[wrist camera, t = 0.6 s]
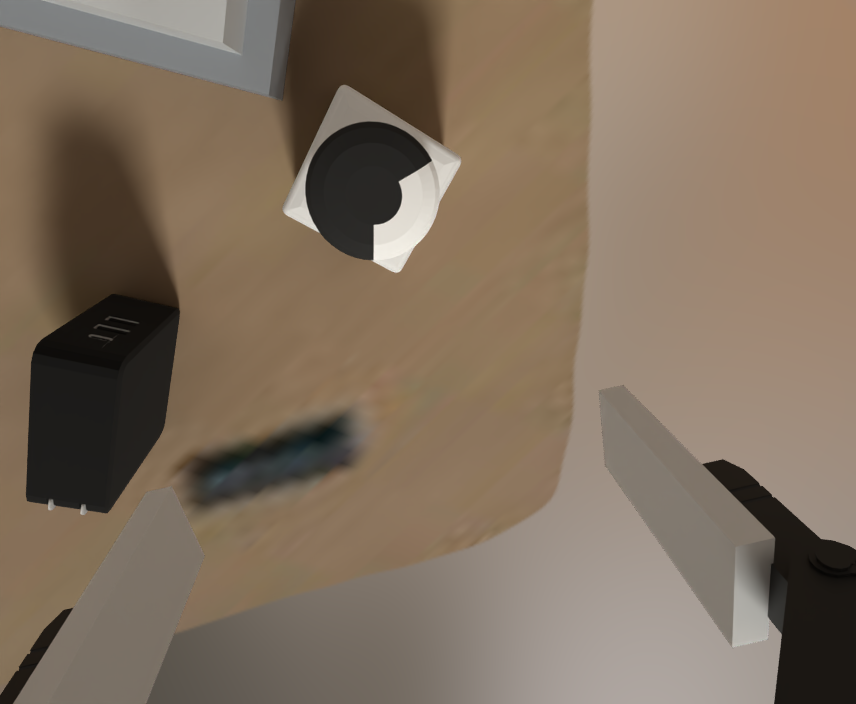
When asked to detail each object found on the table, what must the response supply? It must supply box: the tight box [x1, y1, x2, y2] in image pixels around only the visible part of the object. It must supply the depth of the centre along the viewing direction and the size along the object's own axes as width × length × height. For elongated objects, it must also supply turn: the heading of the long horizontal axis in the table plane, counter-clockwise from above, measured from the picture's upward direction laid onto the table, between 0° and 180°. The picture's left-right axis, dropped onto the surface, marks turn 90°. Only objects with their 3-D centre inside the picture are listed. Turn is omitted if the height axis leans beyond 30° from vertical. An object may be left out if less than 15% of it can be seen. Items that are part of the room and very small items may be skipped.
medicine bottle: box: [283, 85, 461, 273], centre depth 29 cm, size 7×7×12 cm
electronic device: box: [26, 294, 180, 515], centre depth 33 cm, size 4×10×10 cm, turn 163°
